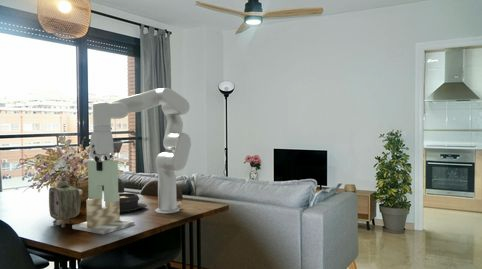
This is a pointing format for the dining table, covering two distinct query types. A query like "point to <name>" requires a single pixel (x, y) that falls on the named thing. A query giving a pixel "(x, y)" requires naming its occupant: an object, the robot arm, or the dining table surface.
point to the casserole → (129, 202)
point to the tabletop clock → (64, 201)
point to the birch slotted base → (104, 227)
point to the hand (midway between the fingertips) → (102, 169)
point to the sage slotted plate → (103, 180)
